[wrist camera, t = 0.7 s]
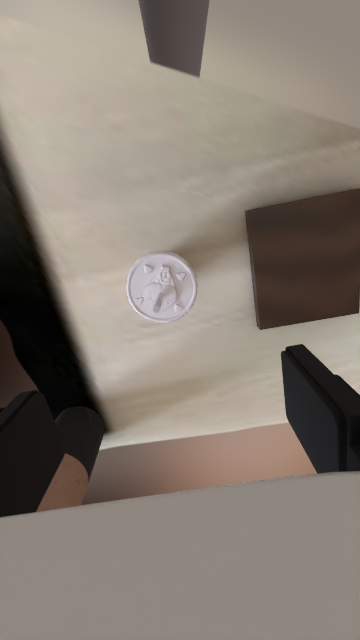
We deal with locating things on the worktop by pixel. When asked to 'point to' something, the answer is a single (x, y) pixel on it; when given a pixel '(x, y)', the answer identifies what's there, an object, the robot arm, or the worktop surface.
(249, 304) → the worktop surface
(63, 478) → the travel mug
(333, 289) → the walnut board
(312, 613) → the robot arm
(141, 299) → the smoothie
